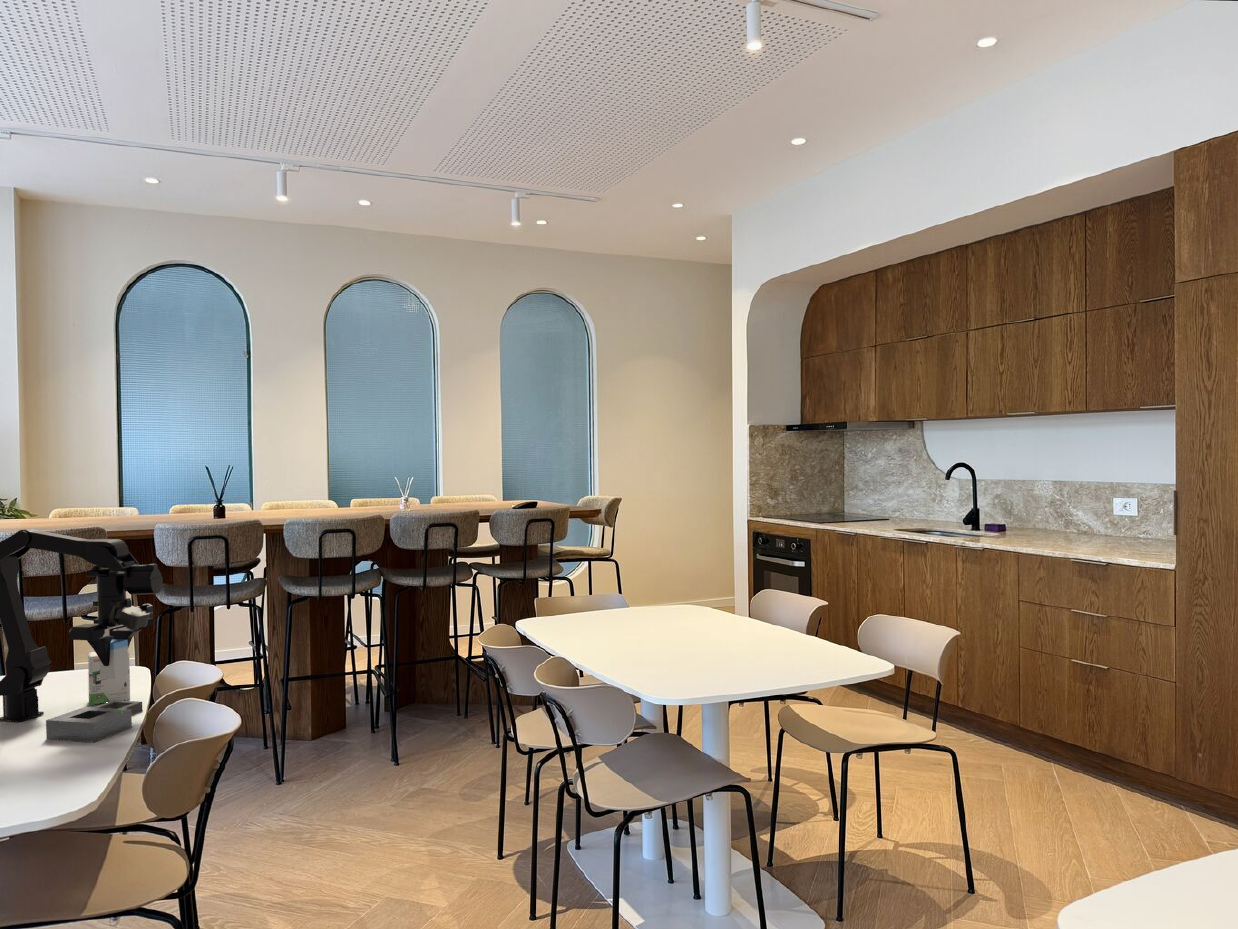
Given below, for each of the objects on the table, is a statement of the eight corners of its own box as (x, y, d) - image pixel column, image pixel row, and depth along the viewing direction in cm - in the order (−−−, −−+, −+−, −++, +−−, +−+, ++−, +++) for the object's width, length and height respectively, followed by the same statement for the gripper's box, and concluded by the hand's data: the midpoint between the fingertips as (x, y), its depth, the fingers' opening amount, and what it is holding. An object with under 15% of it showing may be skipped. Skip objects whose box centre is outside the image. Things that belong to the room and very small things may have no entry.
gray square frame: (86, 718, 200) (86, 709, 200) (114, 708, 208) (114, 700, 208) (115, 720, 198) (115, 711, 198) (142, 710, 206) (142, 701, 206)
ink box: (89, 706, 211) (88, 656, 211) (88, 701, 215) (87, 652, 215) (131, 699, 215) (129, 651, 215) (129, 695, 220) (127, 647, 220)
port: (46, 739, 185) (45, 718, 185) (86, 725, 195) (85, 705, 195) (94, 742, 182) (93, 721, 182) (131, 727, 192) (131, 707, 192)
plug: (100, 678, 201) (99, 642, 201) (114, 673, 205) (113, 639, 205) (114, 678, 200) (113, 643, 200) (128, 674, 204) (127, 639, 204)
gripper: (108, 602, 192) (110, 675, 192) (171, 589, 210) (173, 655, 210) (65, 602, 194) (68, 673, 194) (132, 588, 212) (134, 654, 213)
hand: (114, 663), depth 203 cm, fingers closed on plug, 4 cm apart
